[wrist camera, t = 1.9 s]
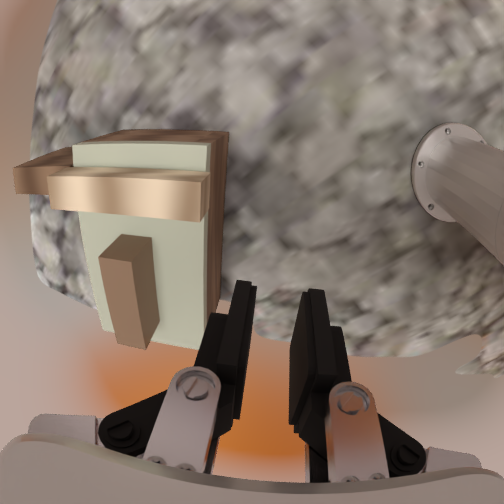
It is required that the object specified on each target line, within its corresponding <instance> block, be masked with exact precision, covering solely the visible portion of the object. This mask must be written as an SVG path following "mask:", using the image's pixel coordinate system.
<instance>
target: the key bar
mask: <svg viewBox="0 0 504 504" xmlns="http://www.w3.org/2000/svg"><path fill="white" fill-rule="evenodd" d="M210 173H211V172H200V171H185V170H169V169H148V168H116V167H66V168H64V169H62V170H59V171H57V172H55V173H53V174H51V175H49V176H47V182H48V191H49V198H50V205H51V209H58V210H70V211H83V212H95V213H106V214H117V215H128V216H139V217H150V218H160V219H170V220H180V221H189V222H199V223H200V222H201V220H202V219H203V217H204V216H205V214H206V212H207V211H208V209H209V197H210Z"/></svg>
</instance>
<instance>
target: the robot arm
mask: <svg viewBox="0 0 504 504" xmlns="http://www.w3.org/2000/svg"><path fill="white" fill-rule="evenodd" d="M445 129H446V131H445ZM419 161H420V164H419V165H418V163H419ZM411 175H412V185H413V189H414V193H415V195H416V197H417V199H418V201H419V203H420V204H421V206H422V207H423V208H424V209H425V210H426V211H427V212H428V213H429V214H430V215H432V216H433V217H434V218H436V219H439V220H441V221H445V222H458V223H459V224H460V225H462V226H463V227H464V228H465V229H466V230H467V231H468V232H469V233H470V234H471V235H473V236H474V237H475V238H476V239H477V240H478V241H479V242H480V243H481V244H482V245H483V246H484V247H485V248H486V249H487V250H488V251H489V252H490V253H491V254H492V255H493V256H494V257H495V258H496V259H497V260H499V261H500V263H501V264H502V265H504V151H502V150H500V149H497V148H494V147H491V146H489V145H487V143H486V141H485V140H484V139H483V137H482V136H481V135H480V134H479V133H478V132H477V131H476V130H474V129H473V128H471V127H469V126H467V125H464V124H460V123H453V122H452V123H444V124H442V125H439V126H437V127H435V128H433V129H432V130H430V131H429V132H428V133H427V134H426V135H425V136H424V137H423V139H422V140H421V142H420V144H419V145H418V147H417V150H416V152H415V154H414V158H413V162H412V172H411ZM429 204H430V205H429ZM428 205H429V206H428ZM251 284H252V282H250V281H242V280H237V281H236V285H235V289H234V293H233V297H232V301H231V305H230V309H229V314H220V313H213V312H211V313H210V316H209V319H208V322H207V325H206V328H205V332H204V335H203V338H202V341H201V344H200V348H199V351H198V354H197V357H196V361H195V364H194V366H193V367H187V368H184V369H182V370H180V371H179V372H178V373H176V374H175V375H174V377H173V378H172V380H171V382H170V385H169V388H168V390H165V391H163V392H161V393H159V394H156V395H154V396H152V397H149V398H147V399H145V400H142V401H140V402H138V403H135V404H133V405H131V406H128V407H126V408H123V409H121V410H118V411H116V412H113V413H111V414H109V415H108V416H106V417H105V418H102V419H101V418H99V419H98V418H96V416H79V415H57V414H40V415H38V416H36V417H35V418H34V419H33V420H32V421H31V423H30V425H29V430H28V434H24V435H20V436H17V437H15V438H14V439H12V440H11V441H10V442H9V443H8V444H7V445H6V446H5V447H4V448H3V450H2V451H1V453H0V504H504V478H503V477H502V476H501V475H499V474H498V473H496V472H494V471H491V470H487V469H483V468H481V463H480V461H479V459H478V458H477V457H475V456H474V455H471V454H467V453H461V452H454V451H449V450H444V449H438V448H433V447H429V448H428V449H424V448H423V446H422V445H421V444H420V443H419V442H418V441H416V440H415V439H414V438H412V437H410V436H409V435H408V434H406V433H405V432H404V431H402V430H401V429H399V428H398V427H396V426H395V425H394V424H392V423H391V422H389V421H388V420H387V419H385V418H384V417H382V416H381V415H380V414H378V413H377V409H376V405H375V400H374V398H373V395H372V393H371V392H370V391H369V390H368V389H367V388H366V387H365V386H363V385H361V384H358V383H356V382H352V381H351V375H350V369H349V364H348V359H347V352H346V347H345V342H344V336H343V331H342V328H341V327H339V326H330V321H329V315H328V309H327V303H326V297H325V292H324V290H320V289H310V288H309V289H308V292H303V293H302V296H301V301H300V305H299V310H298V314H297V319H296V323H295V327H294V332H293V336H292V340H291V345H290V372H289V373H290V374H289V377H290V378H289V424H290V425H294V433H299V437H300V438H301V439H302V440H303V441H305V475H306V476H305V480H306V481H305V483H290V482H289V483H288V482H271V481H259V480H248V479H239V478H231V477H224V476H217V475H212V472H213V468H214V463H215V458H216V454H217V449H218V444H219V439H220V436H221V435H223V434H225V433H226V432H228V431H229V430H231V427H232V424H233V419H240V413H241V406H242V399H243V392H244V385H245V378H246V370H247V364H248V356H249V349H250V341H251V333H252V325H253V317H254V308H255V300H256V291H257V286H251Z"/></svg>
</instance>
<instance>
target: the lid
mask: <svg viewBox="0 0 504 504" xmlns="http://www.w3.org/2000/svg"><path fill="white" fill-rule="evenodd" d="M72 150H73V166H74V167H116V168H148V169H169V170H185V171H200V172H210V155H211V143H200V142H177V141H99V142H80V143H77V144H74V145H72ZM78 214H79V221H80V228H81V234H82V240H83V246H84V251H85V257H86V262H87V267H88V272H89V276H90V281H91V285H92V290H93V294H94V298H95V302H96V306H97V310H98V313H99V317H100V321H101V325H102V328H103V330H105V331H110V332H114V333H115V336H116V340H117V343H118V344H123V345H127V346H131V347H135V348H139V349H144V350H146V349H147V347H148V345H149V343H150V341H154V342H159V343H164V344H169V345H174V346H180V347H185V348H191V349H197V350H199V348H200V344H201V341H202V338H203V335H204V332H205V328H206V325H207V234H208V211H207V212H206V214H205V216H204V217H203V219H202V220H201V222H200V223H199V222H189V221H180V220H170V219H160V218H150V217H139V216H128V215H117V214H106V213H95V212H83V211H78Z"/></svg>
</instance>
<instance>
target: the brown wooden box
mask: <svg viewBox="0 0 504 504" xmlns="http://www.w3.org/2000/svg"><path fill="white" fill-rule="evenodd" d="M228 139H229V132H220V131H201V130H169V129H135V130H121V131H117V132H113V133H110V134H106V135H103V136H100V137H96V138H93V139H90V140H87V141H83V142H99V141H177V142H200V143H211V155H210V172H211V173H210V197H209V209H208V234H207V322H208V319H209V316H210V313H211V312H213V313H215V312H216V309H217V306H218V302H219V299H220V288H221V262H222V240H223V220H224V202H225V185H226V169H227V154H228ZM66 167H74V166H73V150H72V147H65V148H62V149H60V150H57V151H54V152H51V153H49V154H46V155H43V156H41V157H38V158H36V159H33V160H31V161H28V162H26V163H24V164H21V165H19V166H16V167H14V168H13V175H14V183H15V190H16V194H41V195H49V191H48V182H47V176H49V175H51V174H53V173H55V172H57V171H59V170H62V169H64V168H66Z"/></svg>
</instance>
